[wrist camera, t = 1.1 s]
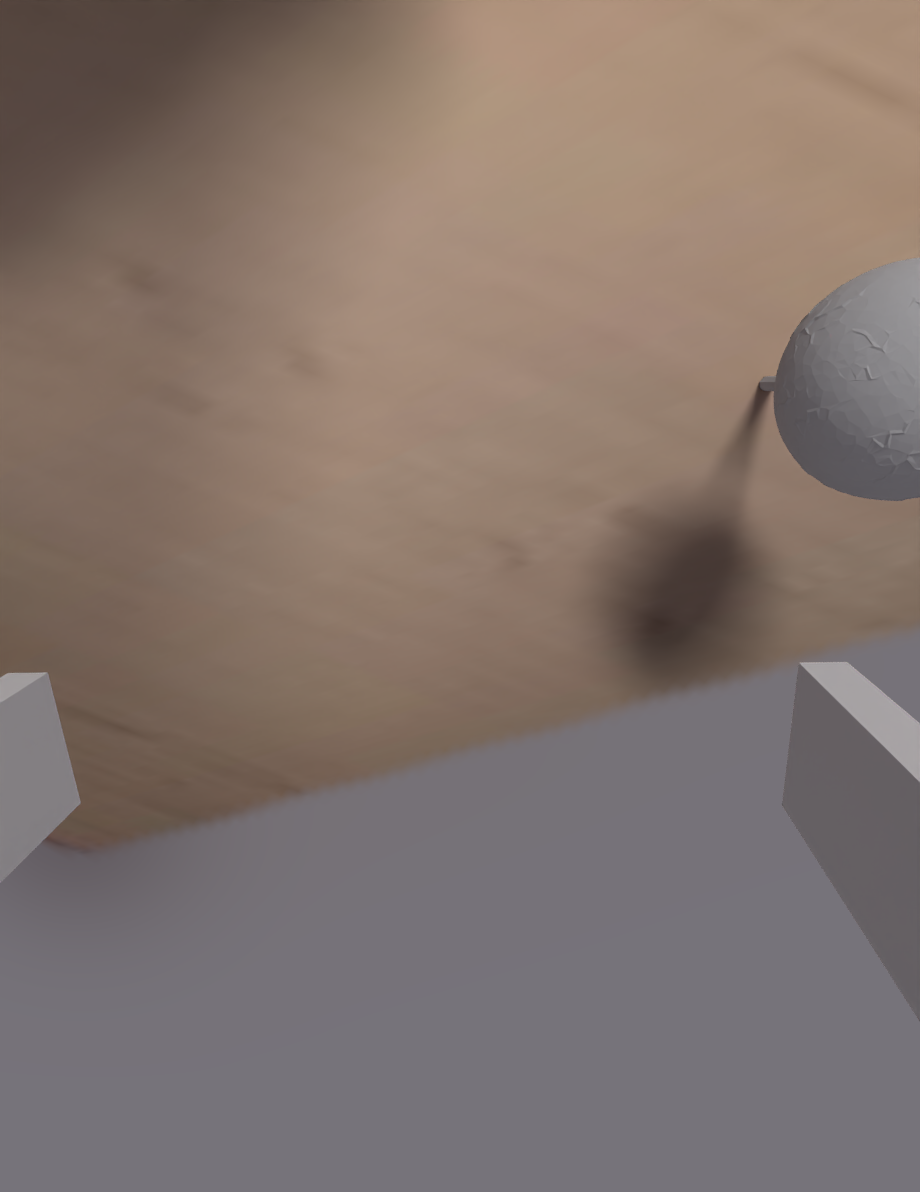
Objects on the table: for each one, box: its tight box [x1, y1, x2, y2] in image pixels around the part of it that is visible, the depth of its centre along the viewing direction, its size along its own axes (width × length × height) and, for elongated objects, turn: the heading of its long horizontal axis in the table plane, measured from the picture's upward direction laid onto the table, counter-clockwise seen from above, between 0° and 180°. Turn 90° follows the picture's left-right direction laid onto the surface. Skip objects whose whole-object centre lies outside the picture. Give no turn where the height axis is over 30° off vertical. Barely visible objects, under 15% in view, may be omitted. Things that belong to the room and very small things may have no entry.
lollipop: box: [760, 258, 920, 501], centre depth 25 cm, size 7×7×15 cm
